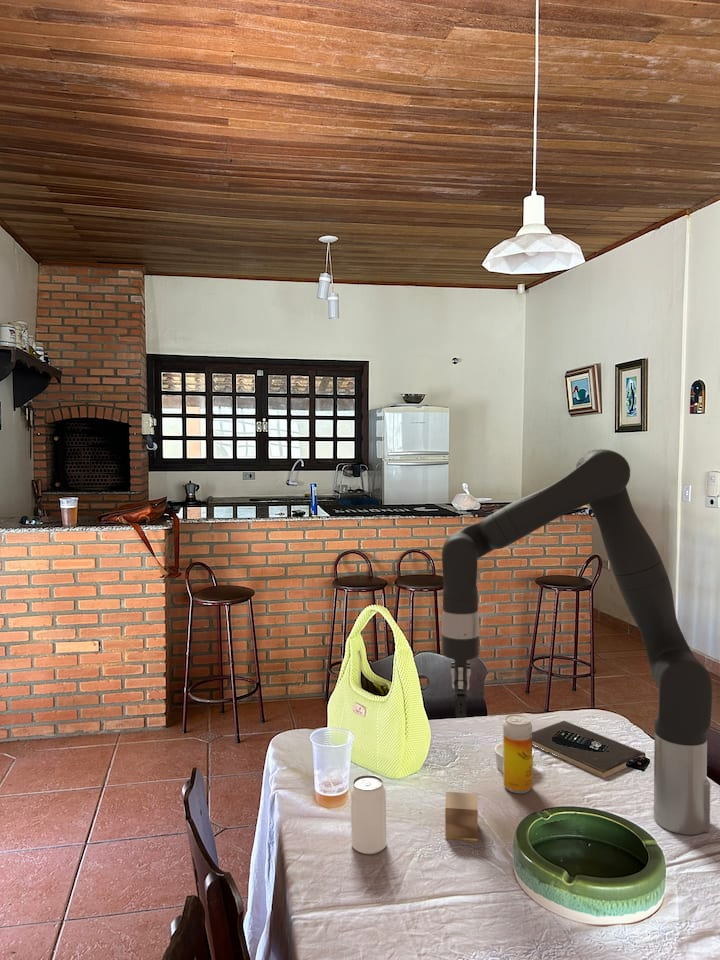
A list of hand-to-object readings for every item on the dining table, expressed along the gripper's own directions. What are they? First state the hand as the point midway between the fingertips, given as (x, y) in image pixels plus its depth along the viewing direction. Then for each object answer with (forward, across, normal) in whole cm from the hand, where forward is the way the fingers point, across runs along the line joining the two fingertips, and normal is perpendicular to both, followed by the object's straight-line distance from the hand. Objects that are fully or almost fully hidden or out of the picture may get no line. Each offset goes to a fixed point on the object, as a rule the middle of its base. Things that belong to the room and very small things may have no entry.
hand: (460, 716), depth 139 cm
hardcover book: (+20, +29, -29) cm, 45 cm away
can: (+19, -16, +17) cm, 30 cm away
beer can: (+19, +9, -12) cm, 24 cm away
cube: (+19, -9, 0) cm, 21 cm away
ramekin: (+19, +18, -12) cm, 29 cm away
